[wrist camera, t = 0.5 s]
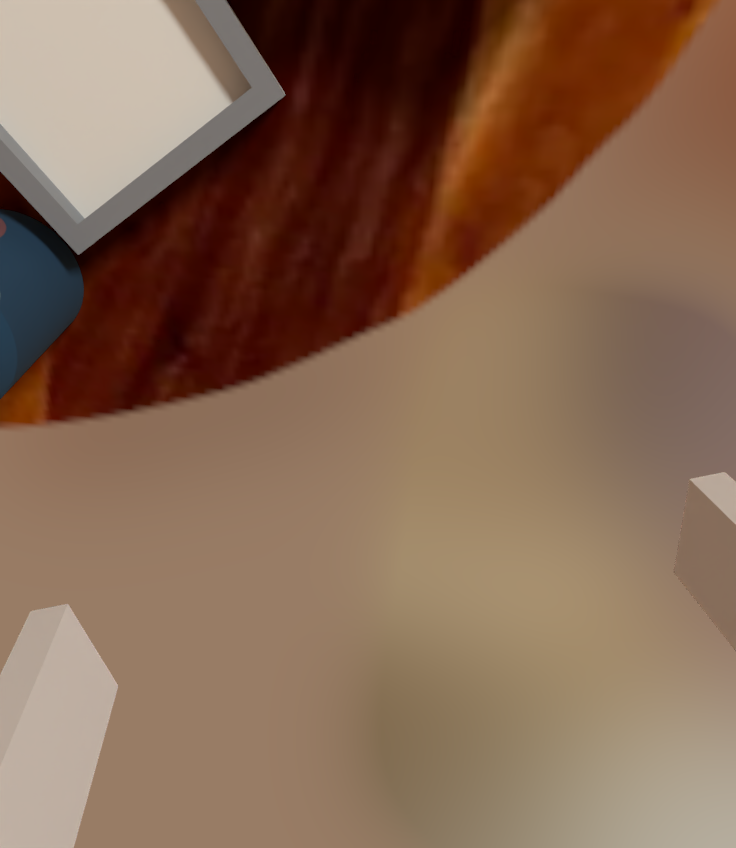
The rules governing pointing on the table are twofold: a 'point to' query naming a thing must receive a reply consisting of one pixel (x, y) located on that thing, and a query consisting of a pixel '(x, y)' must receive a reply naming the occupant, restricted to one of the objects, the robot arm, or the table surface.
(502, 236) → the table surface
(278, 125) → the table surface
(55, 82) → the dock
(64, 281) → the soda can
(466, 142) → the table surface
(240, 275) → the table surface
